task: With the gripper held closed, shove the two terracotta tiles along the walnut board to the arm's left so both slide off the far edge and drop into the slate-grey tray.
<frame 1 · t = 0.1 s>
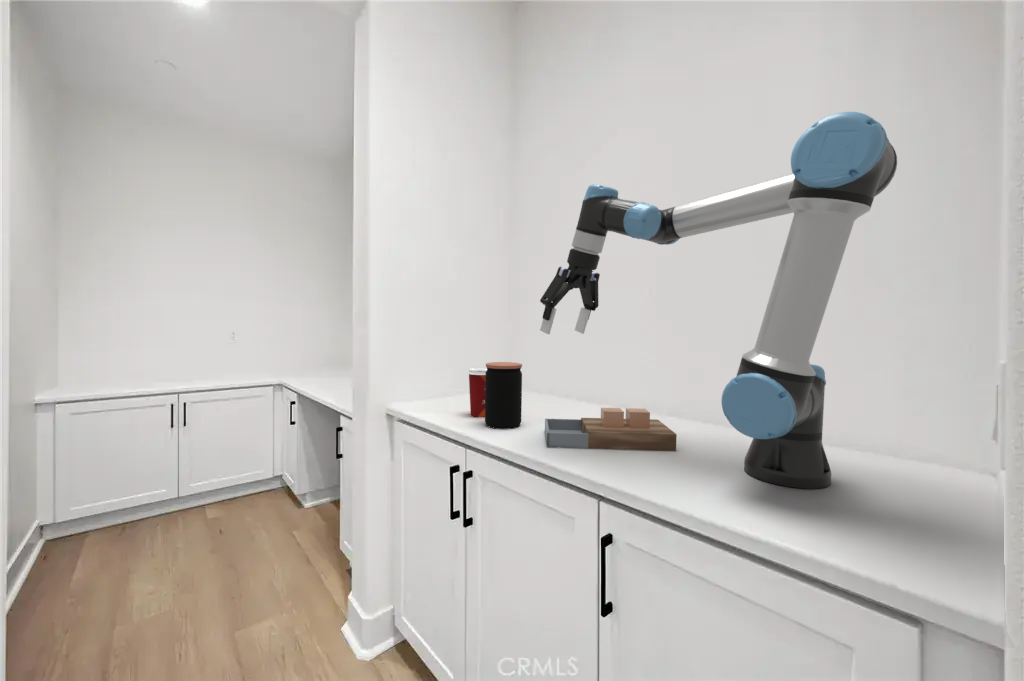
hand: (562, 332, 117), 28 cm above the worktop, tool tilted 20°, fingers open, 13 cm apart
coffee jar: (502, 425, 133), on the worktop
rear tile: (637, 425, 117), point 4 cm above the worktop, touching board
board: (625, 440, 118), on the worktop
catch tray: (564, 439, 118), on the worktop
tile 1: (611, 425, 118), point 4 cm above the worktop, touching board
coffee cup: (480, 416, 145), on the worktop
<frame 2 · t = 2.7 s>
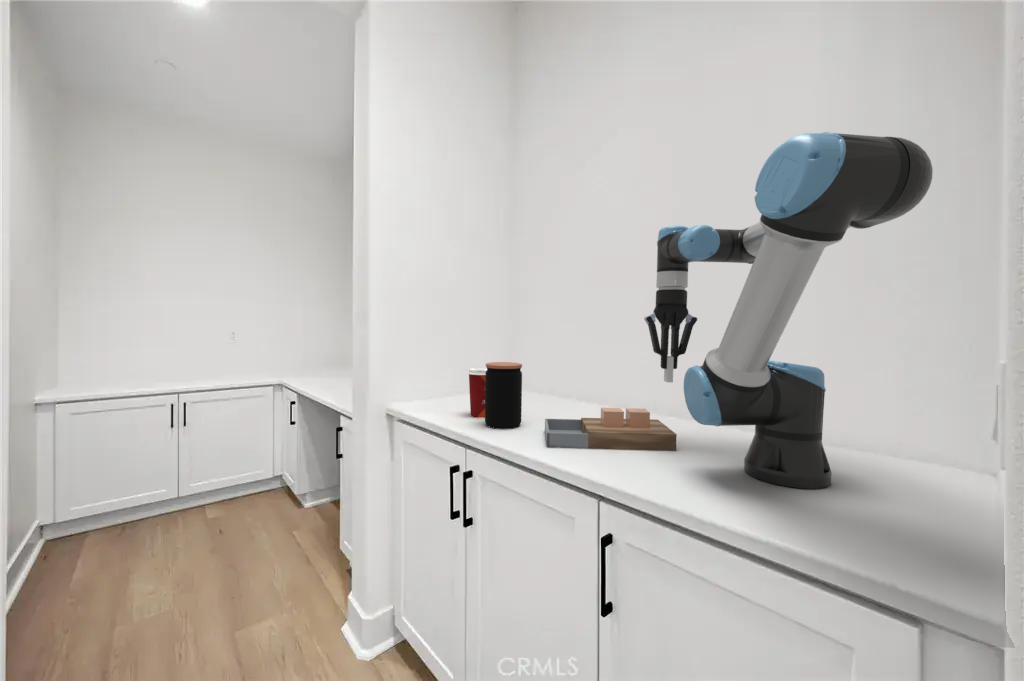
hand: (668, 381, 117), 16 cm above the worktop, tool pointing down, fingers closed
nothing on the worktop moved.
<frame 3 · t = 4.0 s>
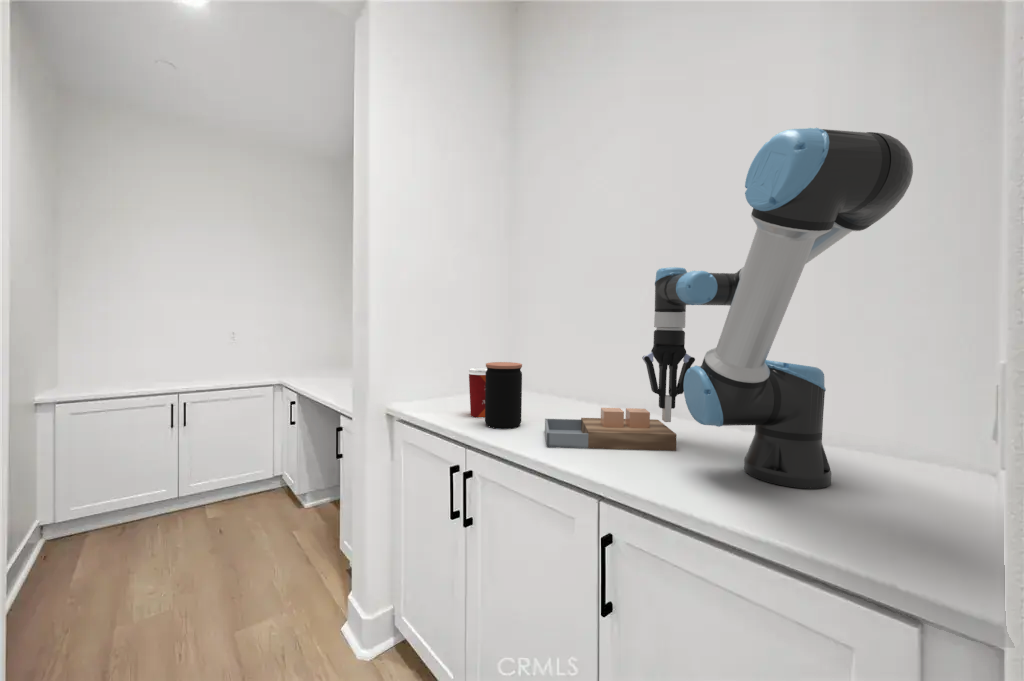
hand: (666, 420, 117), 5 cm above the worktop, tool pointing down, fingers closed
nothing on the worktop moved.
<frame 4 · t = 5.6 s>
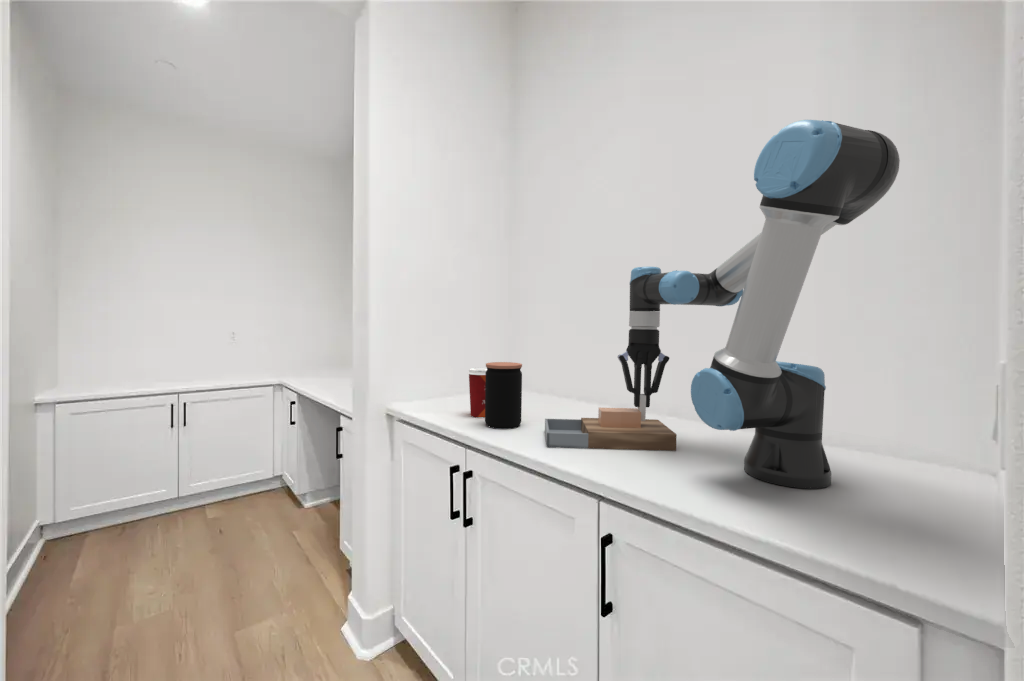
hand: (641, 419, 118), 6 cm above the worktop, tool pointing down, fingers closed
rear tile: (628, 425, 118), point 4 cm above the worktop, touching board, tile 1, gripper
tile 1: (609, 424, 118), point 4 cm above the worktop, touching board, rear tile
everything else where it was.
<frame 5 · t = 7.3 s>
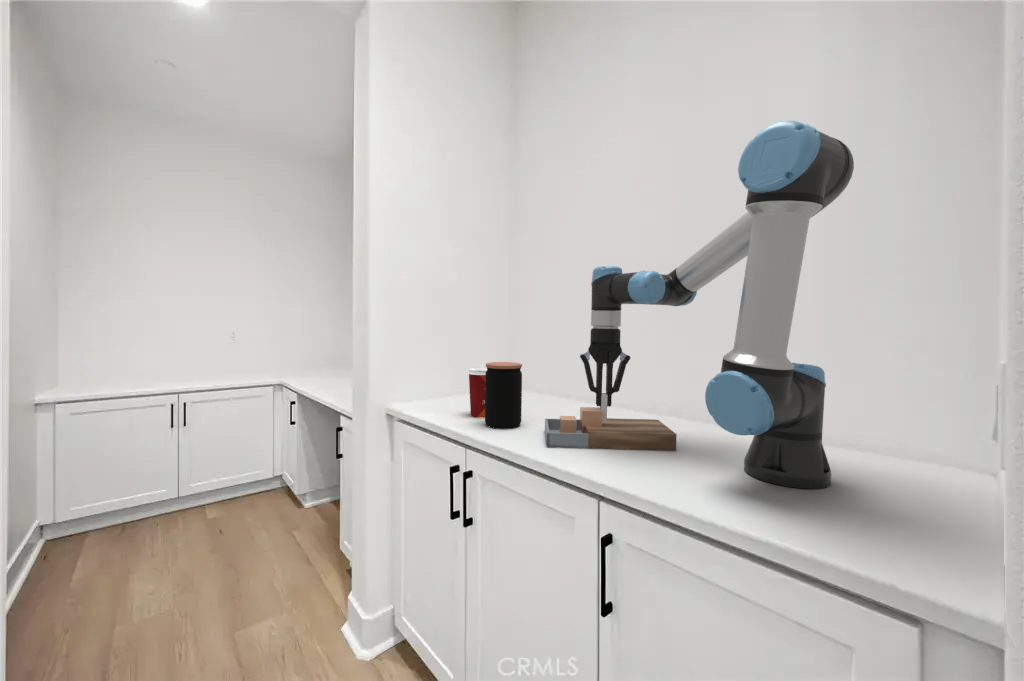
hand: (603, 418, 118), 6 cm above the worktop, tool pointing down, fingers closed
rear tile: (590, 424, 118), point 4 cm above the worktop, touching gripper
tile 1: (575, 427, 118), point 3 cm above the worktop, tilted 90°, touching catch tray
everything else where it was.
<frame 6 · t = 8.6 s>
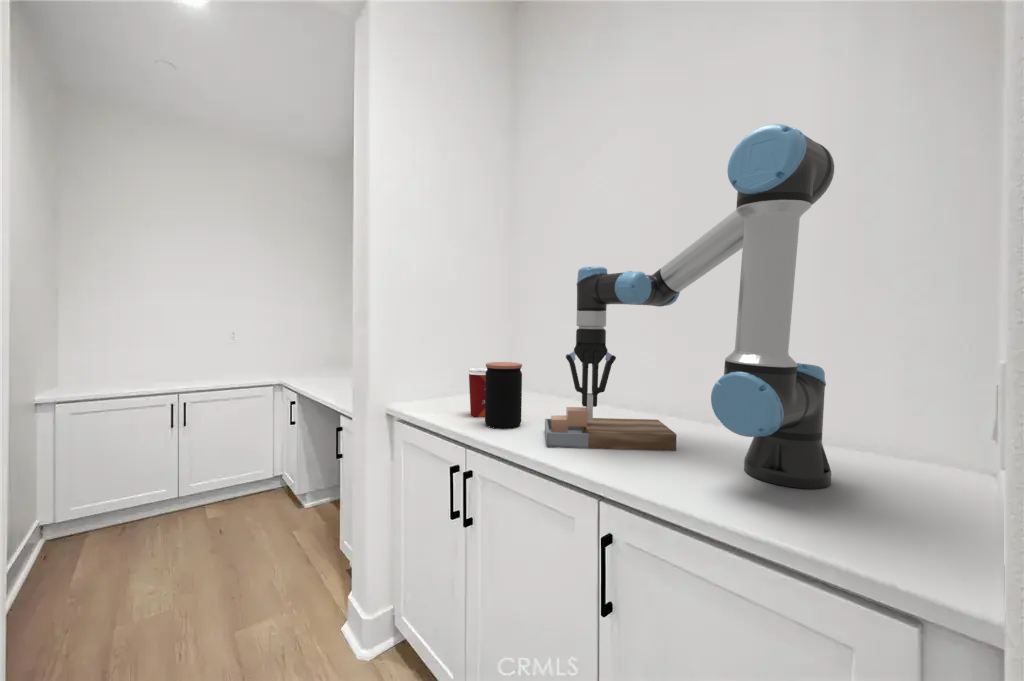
hand: (589, 418, 118), 5 cm above the worktop, tool pointing down, fingers closed
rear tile: (576, 424, 118), point 4 cm above the worktop, touching tile 1, gripper
tile 1: (566, 427, 118), point 3 cm above the worktop, tilted 92°, touching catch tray, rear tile
everything else where it was.
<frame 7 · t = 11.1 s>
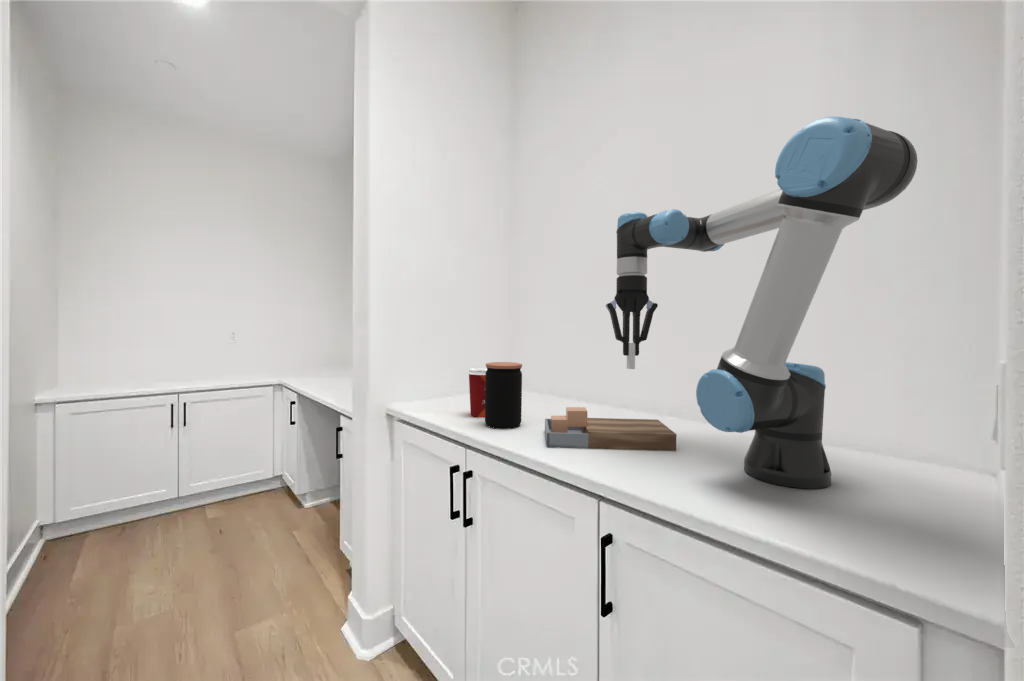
hand: (630, 368, 116), 19 cm above the worktop, tool pointing down, fingers closed
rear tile: (576, 424, 118), point 4 cm above the worktop, touching board, tile 1
everything else where it was.
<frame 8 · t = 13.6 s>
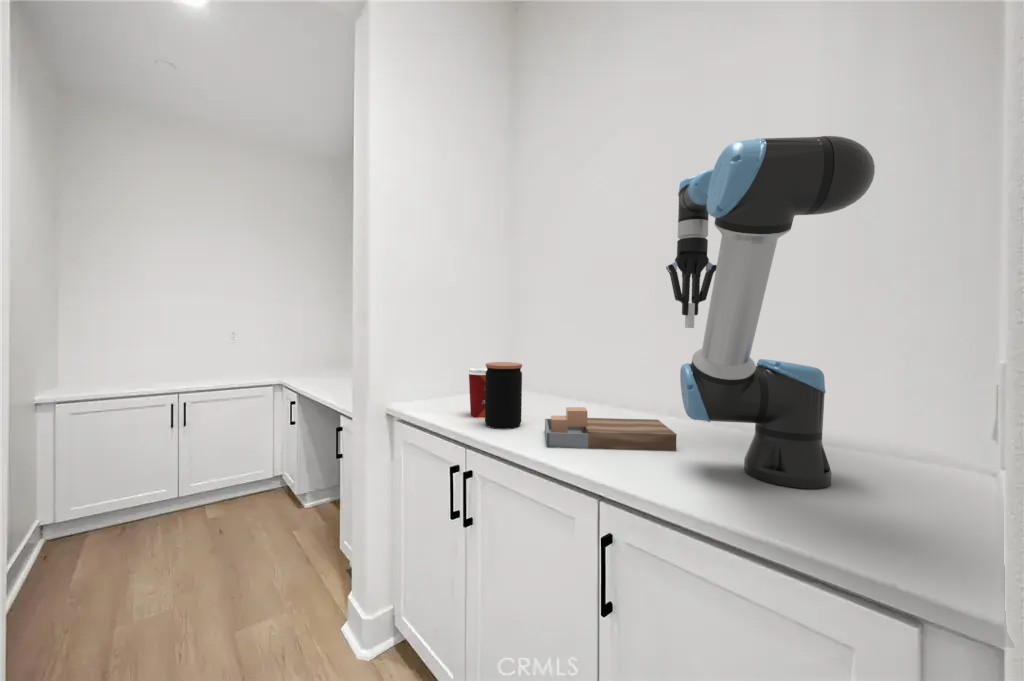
hand: (689, 327, 122), 29 cm above the worktop, tool pointing down, fingers closed
nothing on the worktop moved.
at the end: tile 1 inside the target area (2.2 cm from its centre), point 3.2 cm above the worktop; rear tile inside the target area (4.6 cm from its centre), point 4.0 cm above the worktop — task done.
